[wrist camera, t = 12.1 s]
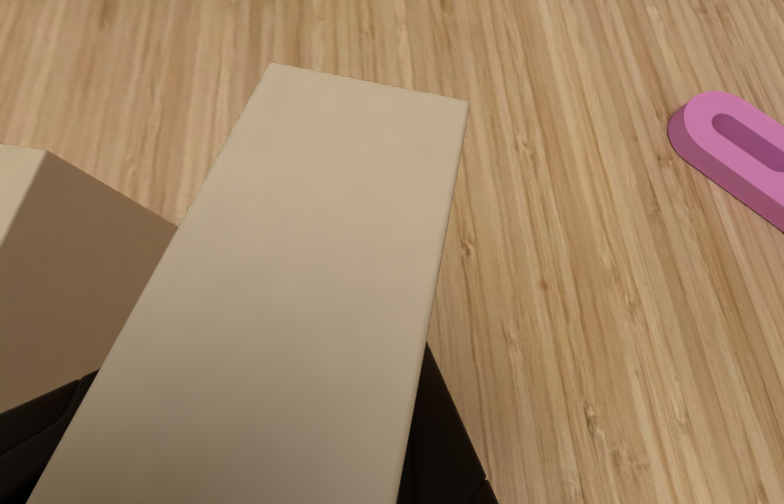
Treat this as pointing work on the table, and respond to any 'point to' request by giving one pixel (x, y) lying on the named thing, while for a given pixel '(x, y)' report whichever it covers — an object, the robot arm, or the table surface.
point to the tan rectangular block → (66, 270)
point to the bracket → (734, 149)
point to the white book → (280, 311)
